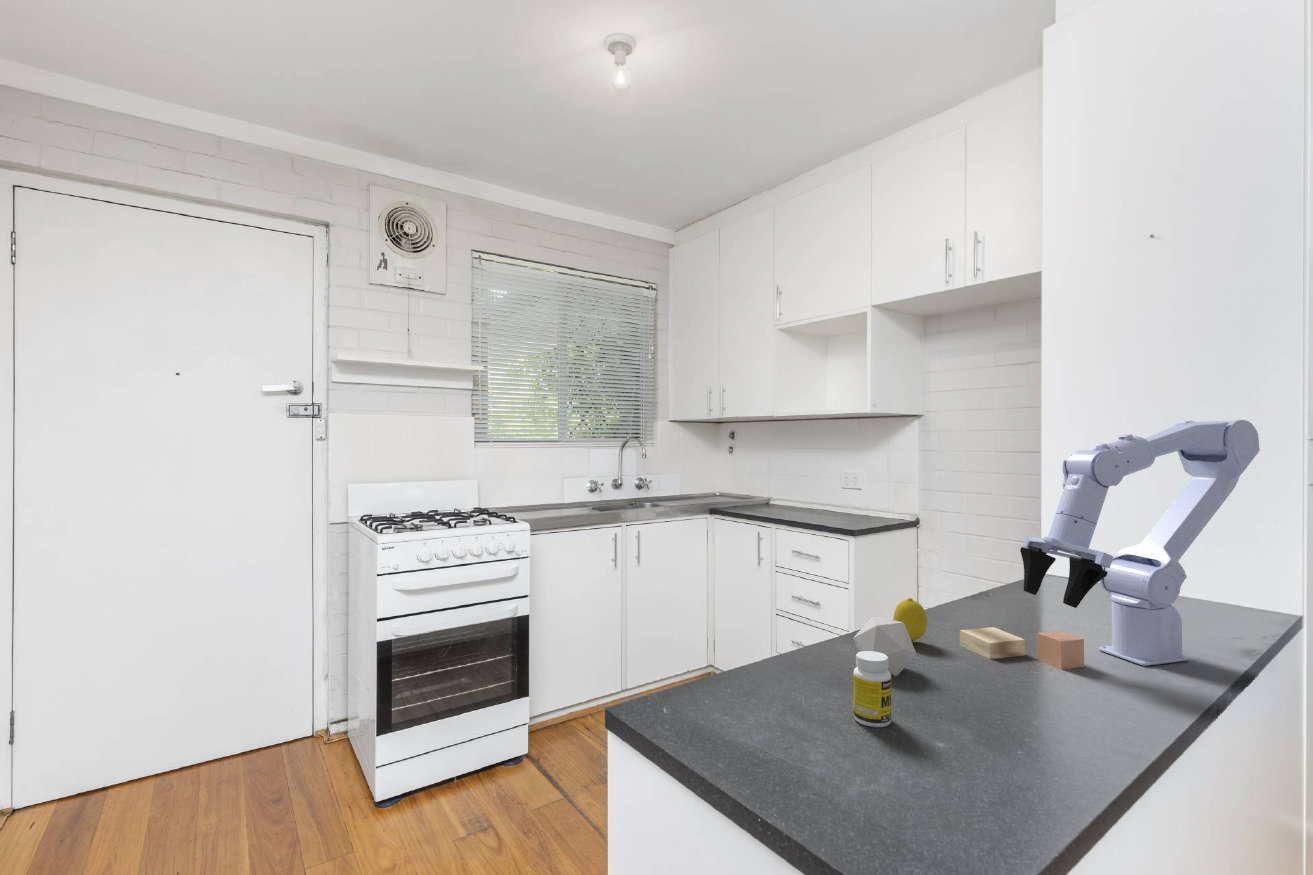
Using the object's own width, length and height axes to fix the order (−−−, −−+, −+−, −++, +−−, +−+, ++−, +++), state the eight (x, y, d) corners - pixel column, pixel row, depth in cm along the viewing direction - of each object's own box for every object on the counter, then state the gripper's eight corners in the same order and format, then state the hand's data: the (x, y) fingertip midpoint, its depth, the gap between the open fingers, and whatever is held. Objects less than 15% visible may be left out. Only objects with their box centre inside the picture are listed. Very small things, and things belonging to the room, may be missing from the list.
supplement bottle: (887, 731, 78) (886, 664, 78) (849, 722, 81) (848, 657, 81) (895, 716, 82) (894, 653, 82) (858, 708, 85) (858, 647, 85)
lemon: (930, 648, 108) (929, 602, 108) (896, 646, 109) (896, 601, 109) (923, 638, 114) (922, 594, 114) (891, 636, 115) (890, 593, 115)
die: (924, 673, 99) (898, 615, 104) (922, 662, 92) (895, 601, 97) (873, 688, 100) (851, 630, 106) (868, 678, 94) (844, 617, 99)
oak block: (993, 643, 112) (993, 627, 112) (1024, 657, 105) (1024, 639, 105) (959, 647, 110) (959, 630, 110) (989, 661, 103) (989, 643, 103)
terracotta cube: (1059, 657, 104) (1059, 630, 104) (1084, 667, 100) (1083, 639, 100) (1037, 660, 103) (1037, 632, 103) (1061, 669, 98) (1060, 641, 98)
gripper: (1020, 505, 108) (995, 580, 107) (1098, 518, 93) (1070, 603, 92) (1051, 519, 109) (1026, 593, 108) (1132, 533, 95) (1105, 618, 94)
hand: (1048, 599), depth 100 cm, fingers open, 7 cm apart
